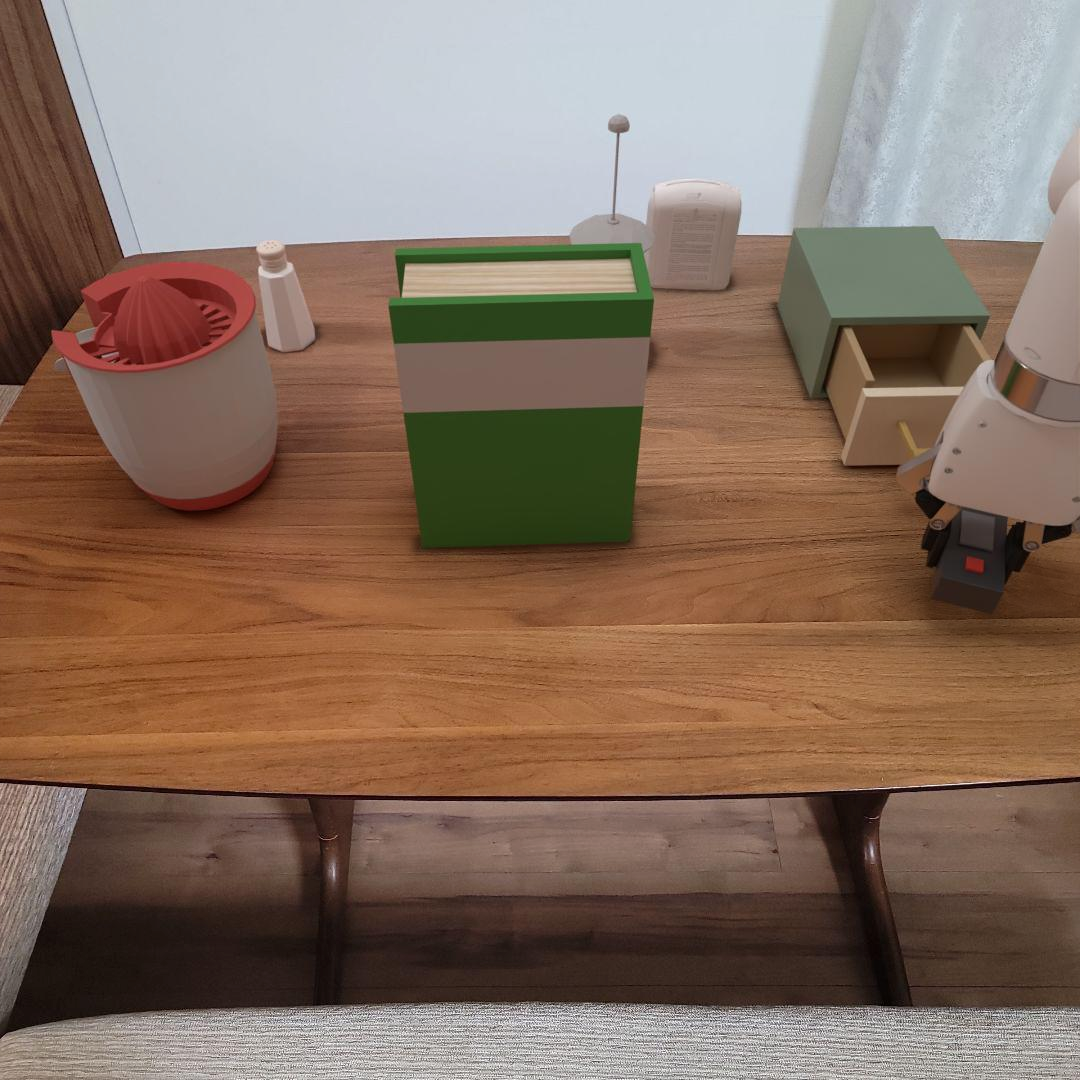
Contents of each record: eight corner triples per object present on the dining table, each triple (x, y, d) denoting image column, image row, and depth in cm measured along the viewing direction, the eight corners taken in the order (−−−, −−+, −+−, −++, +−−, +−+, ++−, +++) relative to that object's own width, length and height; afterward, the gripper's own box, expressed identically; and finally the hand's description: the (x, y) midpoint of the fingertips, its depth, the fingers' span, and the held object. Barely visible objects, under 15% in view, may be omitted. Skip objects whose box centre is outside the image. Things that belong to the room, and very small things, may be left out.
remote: (940, 519, 76) (951, 493, 74) (997, 532, 75) (1009, 507, 73) (930, 599, 70) (942, 574, 68) (992, 614, 69) (1005, 589, 67)
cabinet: (956, 399, 93) (990, 315, 86) (809, 401, 93) (831, 317, 85) (907, 307, 104) (933, 225, 97) (776, 308, 104) (793, 227, 97)
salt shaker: (325, 342, 100) (306, 248, 92) (278, 359, 98) (254, 265, 90) (304, 319, 103) (284, 226, 95) (258, 334, 101) (233, 241, 93)
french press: (630, 323, 102) (649, 87, 84) (673, 383, 95) (704, 139, 76) (546, 339, 100) (547, 101, 82) (583, 403, 93) (593, 155, 74)
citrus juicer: (139, 413, 92) (63, 224, 77) (312, 419, 91) (269, 229, 76) (75, 526, 81) (-27, 330, 66) (271, 533, 80) (212, 338, 66)
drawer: (1013, 504, 81) (1049, 435, 75) (859, 507, 81) (883, 437, 75) (937, 362, 95) (962, 294, 90) (806, 364, 95) (823, 296, 90)
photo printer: (727, 275, 109) (744, 172, 100) (730, 295, 106) (747, 191, 97) (640, 272, 110) (648, 170, 101) (640, 292, 107) (649, 188, 98)
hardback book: (422, 551, 79) (388, 305, 61) (426, 491, 84) (395, 248, 66) (629, 545, 79) (654, 299, 62) (620, 485, 84) (641, 242, 67)
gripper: (1199, 366, 59) (1081, 557, 73) (924, 317, 63) (861, 505, 77) (1211, 439, 54) (1083, 628, 68) (914, 380, 59) (848, 569, 72)
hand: (966, 561), depth 72 cm, fingers closed on remote, 4 cm apart
